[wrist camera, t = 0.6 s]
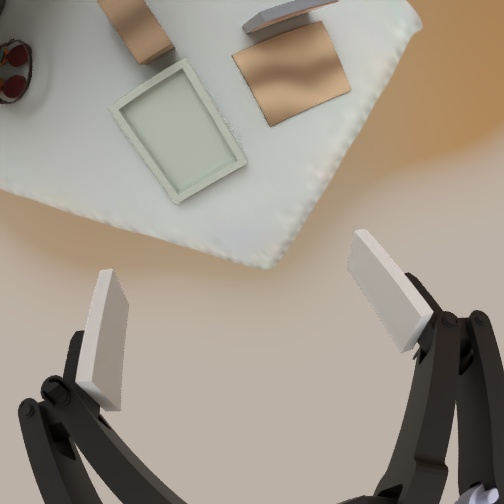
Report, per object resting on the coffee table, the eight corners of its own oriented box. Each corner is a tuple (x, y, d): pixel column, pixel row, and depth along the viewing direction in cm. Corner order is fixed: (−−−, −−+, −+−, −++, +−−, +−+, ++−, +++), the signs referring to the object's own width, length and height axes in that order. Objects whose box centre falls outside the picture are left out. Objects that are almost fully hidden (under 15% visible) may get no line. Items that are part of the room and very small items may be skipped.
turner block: (110, 10, 22) (96, 1, 18) (138, -8, 22) (129, -20, 17) (146, 64, 28) (138, 63, 24) (175, 47, 28) (172, 43, 23)
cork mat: (231, 55, 30) (232, 55, 29) (320, 21, 28) (321, 20, 28) (269, 125, 36) (270, 126, 36) (350, 90, 35) (351, 90, 34)
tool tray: (111, 106, 30) (107, 108, 28) (186, 58, 29) (185, 57, 27) (176, 197, 40) (176, 204, 38) (245, 158, 38) (248, 163, 37)
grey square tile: (242, 26, 27) (260, 12, 20) (304, 4, 26) (339, -11, 18) (246, 34, 28) (266, 23, 20) (308, 12, 27) (344, 0, 19)
